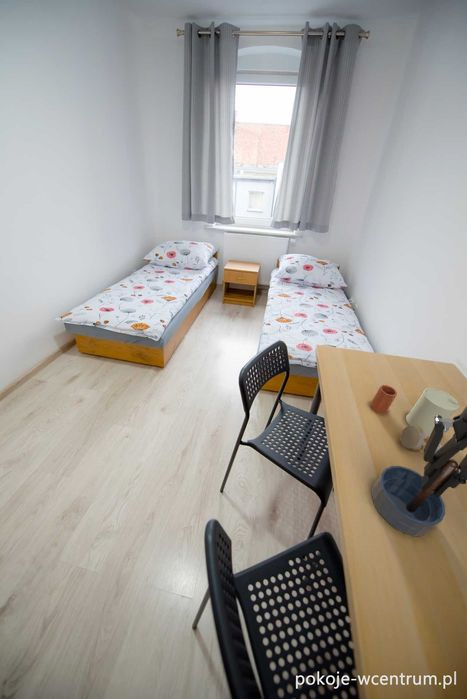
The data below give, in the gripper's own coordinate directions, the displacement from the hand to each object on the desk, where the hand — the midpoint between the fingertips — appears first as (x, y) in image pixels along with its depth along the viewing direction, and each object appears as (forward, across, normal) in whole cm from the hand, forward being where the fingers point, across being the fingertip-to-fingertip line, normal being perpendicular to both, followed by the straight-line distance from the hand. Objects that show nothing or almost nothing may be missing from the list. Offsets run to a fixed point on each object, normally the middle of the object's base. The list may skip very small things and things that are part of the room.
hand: (429, 487), depth 57 cm
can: (+11, +3, +34) cm, 36 cm away
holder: (+11, -10, +33) cm, 37 cm away
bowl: (+11, -1, +1) cm, 11 cm away
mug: (+11, +2, +23) cm, 26 cm away
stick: (+9, 0, 0) cm, 9 cm away
